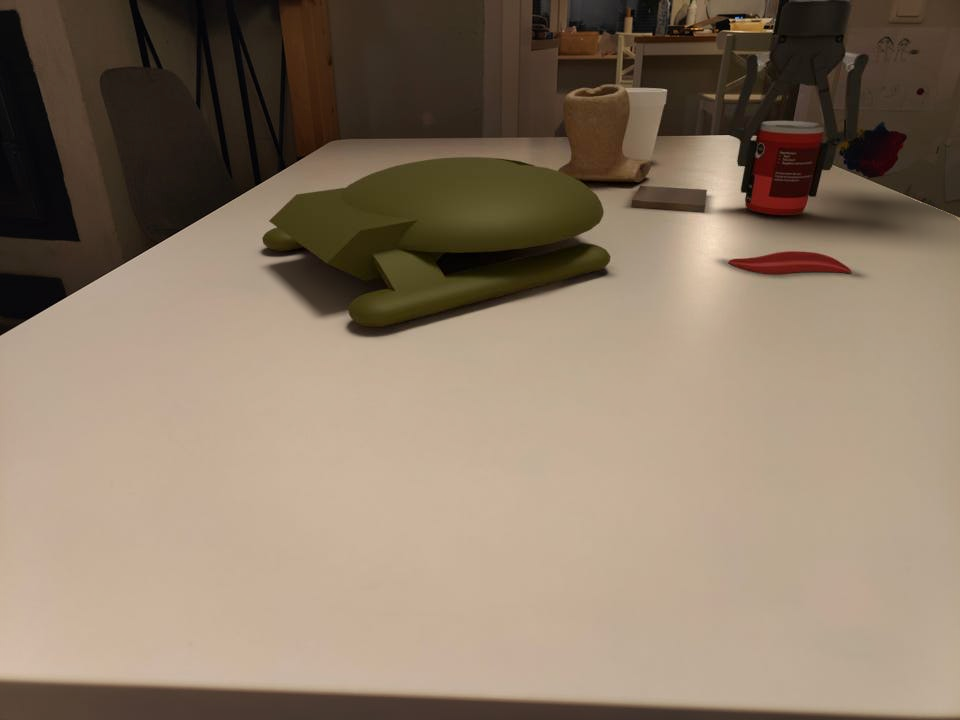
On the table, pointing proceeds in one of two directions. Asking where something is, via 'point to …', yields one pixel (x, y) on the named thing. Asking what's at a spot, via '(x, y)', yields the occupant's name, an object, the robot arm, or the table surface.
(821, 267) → the cayenne pepper
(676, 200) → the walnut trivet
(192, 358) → the table surface
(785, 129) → the canned food
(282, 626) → the table surface
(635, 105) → the foam cup
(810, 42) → the robot arm
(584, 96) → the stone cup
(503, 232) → the spaceship
